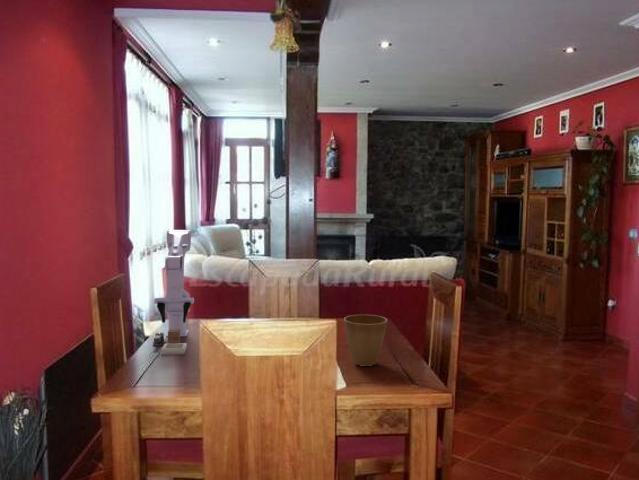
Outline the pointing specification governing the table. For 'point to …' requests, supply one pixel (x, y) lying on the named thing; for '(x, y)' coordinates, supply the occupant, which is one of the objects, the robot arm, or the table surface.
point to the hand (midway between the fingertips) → (174, 322)
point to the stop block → (174, 336)
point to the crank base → (159, 344)
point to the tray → (174, 349)
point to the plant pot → (365, 337)
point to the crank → (159, 338)
